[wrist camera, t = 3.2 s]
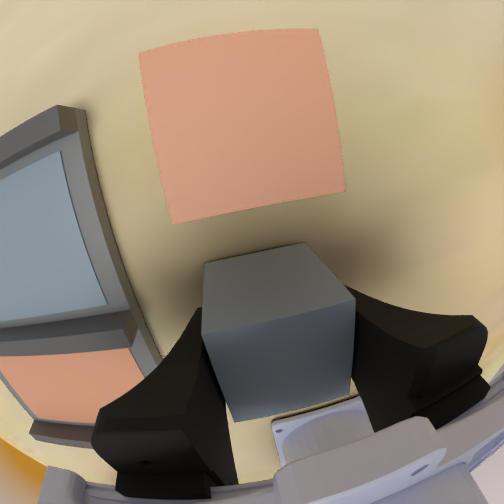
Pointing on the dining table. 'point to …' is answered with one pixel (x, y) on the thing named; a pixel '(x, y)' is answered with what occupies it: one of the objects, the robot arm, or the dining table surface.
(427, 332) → the robot arm
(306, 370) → the slate-blue block
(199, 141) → the terracotta block
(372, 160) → the dining table surface
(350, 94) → the dining table surface
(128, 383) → the slot rack
